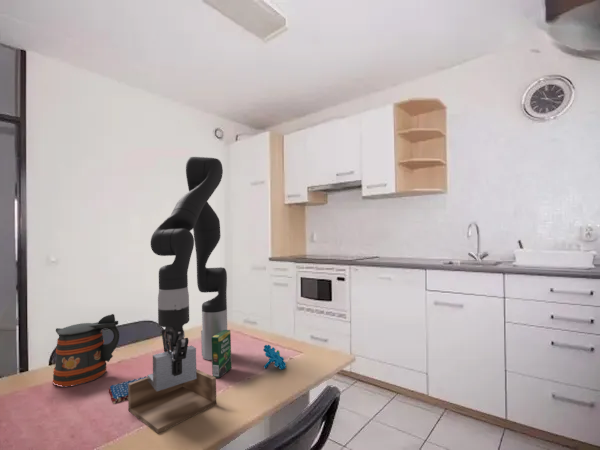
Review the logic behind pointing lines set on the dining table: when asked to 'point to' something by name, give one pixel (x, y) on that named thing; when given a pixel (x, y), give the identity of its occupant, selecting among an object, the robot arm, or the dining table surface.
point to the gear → (274, 357)
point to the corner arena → (171, 401)
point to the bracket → (163, 370)
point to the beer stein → (83, 351)
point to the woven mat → (120, 391)
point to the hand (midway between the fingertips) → (174, 372)
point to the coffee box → (221, 353)
